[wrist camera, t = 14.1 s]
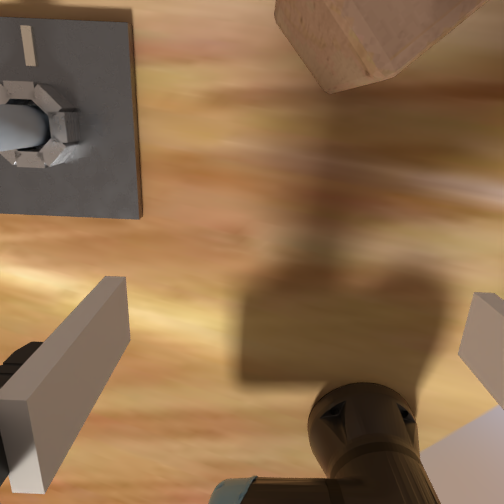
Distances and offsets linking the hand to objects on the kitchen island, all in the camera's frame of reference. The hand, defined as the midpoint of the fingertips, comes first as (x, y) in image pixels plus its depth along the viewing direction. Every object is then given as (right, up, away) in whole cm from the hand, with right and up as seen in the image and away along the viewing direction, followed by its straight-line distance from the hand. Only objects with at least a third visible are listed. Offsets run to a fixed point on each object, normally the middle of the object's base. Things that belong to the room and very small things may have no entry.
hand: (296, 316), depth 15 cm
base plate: (-24, +17, +28) cm, 41 cm away
